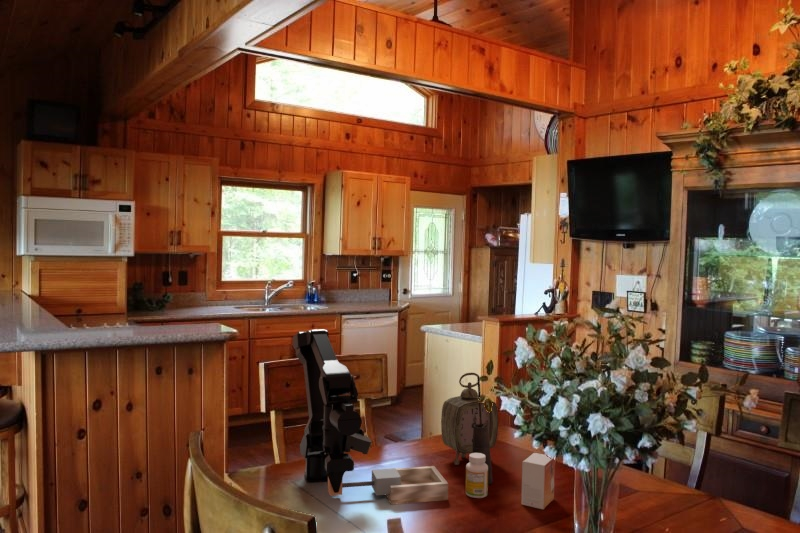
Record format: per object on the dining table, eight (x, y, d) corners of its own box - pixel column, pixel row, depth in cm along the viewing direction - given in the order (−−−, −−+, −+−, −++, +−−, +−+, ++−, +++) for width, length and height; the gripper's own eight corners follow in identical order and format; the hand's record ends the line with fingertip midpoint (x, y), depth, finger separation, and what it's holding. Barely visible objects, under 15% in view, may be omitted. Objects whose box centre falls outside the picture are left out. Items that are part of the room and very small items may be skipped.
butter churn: (485, 471, 171) (488, 368, 170) (509, 483, 163) (512, 375, 162) (458, 478, 166) (461, 372, 165) (482, 490, 158) (484, 379, 157)
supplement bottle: (474, 488, 159) (475, 450, 159) (491, 494, 155) (493, 455, 155) (460, 494, 156) (461, 455, 155) (478, 500, 152) (479, 460, 151)
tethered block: (330, 498, 148) (330, 480, 148) (327, 488, 154) (327, 471, 154) (400, 493, 152) (401, 475, 152) (395, 484, 158) (395, 467, 158)
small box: (543, 510, 147) (544, 465, 146) (520, 504, 150) (521, 461, 149) (554, 499, 154) (555, 456, 153) (532, 493, 157) (533, 451, 156)
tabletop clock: (454, 468, 173) (456, 377, 172) (437, 458, 181) (439, 371, 180) (497, 460, 180) (499, 373, 179) (479, 451, 188) (481, 367, 187)
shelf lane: (390, 504, 148) (391, 487, 148) (380, 485, 160) (380, 469, 160) (447, 499, 152) (448, 483, 152) (433, 481, 163) (434, 465, 163)
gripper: (376, 433, 143) (375, 501, 144) (362, 411, 162) (361, 471, 162) (327, 436, 141) (326, 505, 142) (318, 413, 159) (317, 474, 160)
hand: (334, 488), depth 151 cm, fingers open, 5 cm apart
